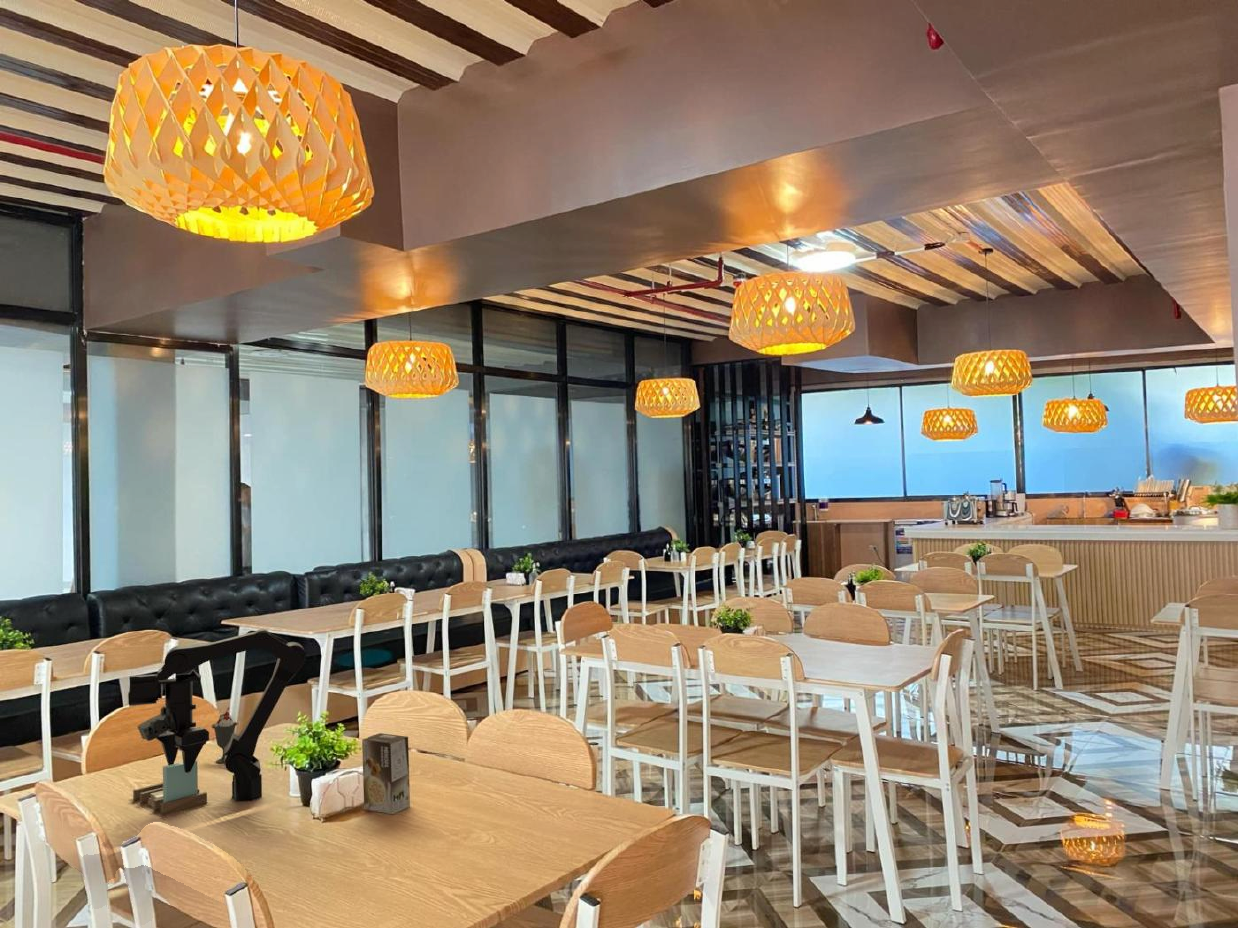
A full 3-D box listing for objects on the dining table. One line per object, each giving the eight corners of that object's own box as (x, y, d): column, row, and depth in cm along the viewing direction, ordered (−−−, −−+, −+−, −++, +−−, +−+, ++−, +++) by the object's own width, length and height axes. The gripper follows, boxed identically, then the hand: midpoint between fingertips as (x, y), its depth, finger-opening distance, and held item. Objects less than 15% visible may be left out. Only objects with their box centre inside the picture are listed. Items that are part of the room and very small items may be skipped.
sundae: (231, 764, 245) (231, 708, 245) (207, 764, 245) (207, 709, 245) (242, 756, 251) (241, 703, 252) (219, 757, 251) (218, 703, 252)
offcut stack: (192, 799, 213) (192, 788, 213) (156, 808, 207) (156, 798, 207) (183, 794, 216) (183, 784, 216) (147, 804, 210) (147, 793, 210)
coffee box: (411, 805, 206) (410, 736, 207) (392, 815, 201) (391, 743, 201) (381, 800, 211) (380, 732, 211) (362, 809, 205) (360, 739, 206)
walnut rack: (212, 808, 209) (211, 793, 209) (163, 822, 201) (162, 806, 201) (176, 791, 222) (175, 777, 222) (128, 803, 214) (128, 789, 214)
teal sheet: (197, 803, 209) (197, 760, 210) (166, 812, 204) (166, 768, 205) (194, 801, 211) (193, 759, 211) (163, 810, 205) (162, 766, 206)
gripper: (126, 702, 208) (126, 769, 208) (159, 713, 196) (159, 785, 195) (175, 693, 217) (175, 758, 216) (210, 703, 204) (210, 772, 204)
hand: (179, 768), depth 208 cm, fingers open, 9 cm apart
